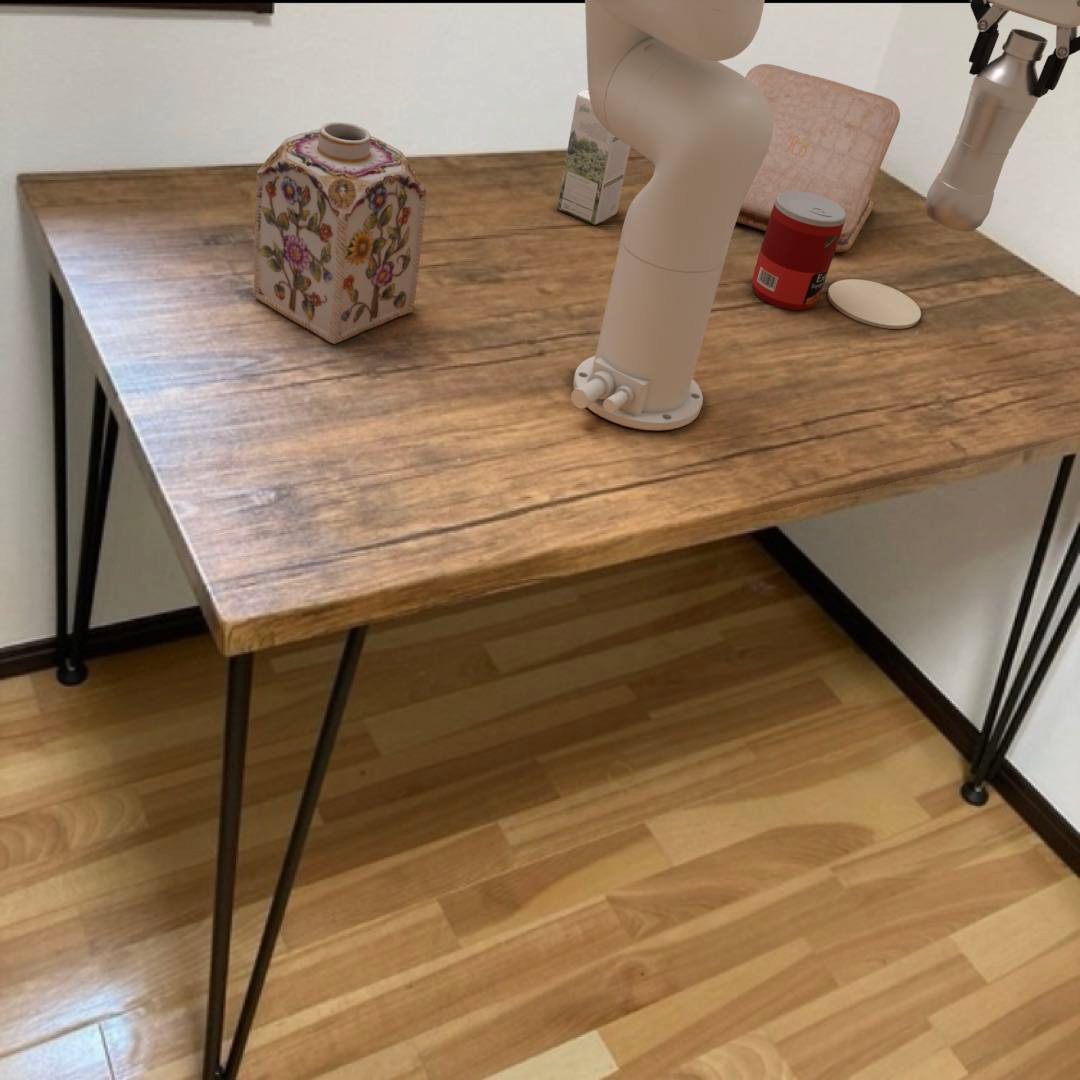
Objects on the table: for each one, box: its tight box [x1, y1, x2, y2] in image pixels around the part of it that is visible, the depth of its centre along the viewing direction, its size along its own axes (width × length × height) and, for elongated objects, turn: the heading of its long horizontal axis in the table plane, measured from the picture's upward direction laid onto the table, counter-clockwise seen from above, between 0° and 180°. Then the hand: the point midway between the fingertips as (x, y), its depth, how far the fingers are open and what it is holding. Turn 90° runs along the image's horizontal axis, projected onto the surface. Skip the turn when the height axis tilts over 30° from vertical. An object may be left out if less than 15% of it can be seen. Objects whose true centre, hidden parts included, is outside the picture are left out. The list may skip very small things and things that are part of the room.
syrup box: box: [556, 88, 631, 225], centre depth 149 cm, size 6×6×14 cm
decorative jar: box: [253, 121, 427, 345], centre depth 119 cm, size 12×12×18 cm
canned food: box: [751, 191, 846, 311], centre depth 140 cm, size 8×8×11 cm
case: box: [736, 63, 901, 253], centre depth 159 cm, size 20×21×16 cm
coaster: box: [826, 278, 922, 330], centre depth 145 cm, size 11×11×1 cm
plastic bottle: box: [924, 28, 1049, 232], centre depth 128 cm, size 6×7×20 cm
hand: (1008, 81), depth 125 cm, fingers closed on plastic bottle, 6 cm apart
